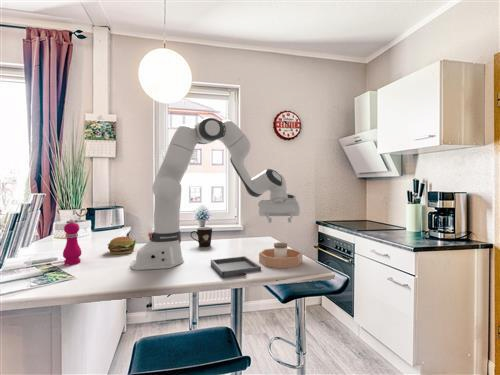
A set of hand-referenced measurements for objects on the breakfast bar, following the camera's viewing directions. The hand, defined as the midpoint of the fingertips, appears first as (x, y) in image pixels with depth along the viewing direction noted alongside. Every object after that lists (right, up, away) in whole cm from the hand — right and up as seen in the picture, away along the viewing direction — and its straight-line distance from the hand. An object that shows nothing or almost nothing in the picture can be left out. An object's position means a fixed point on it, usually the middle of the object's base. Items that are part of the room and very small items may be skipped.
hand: (279, 221), depth 141 cm
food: (-81, -18, +12) cm, 84 cm away
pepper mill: (-95, -18, -8) cm, 97 cm away
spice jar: (-1, -16, -12) cm, 20 cm away
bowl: (-1, -17, -12) cm, 21 cm away
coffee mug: (-41, -17, +26) cm, 52 cm away
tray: (-21, -17, -19) cm, 33 cm away
